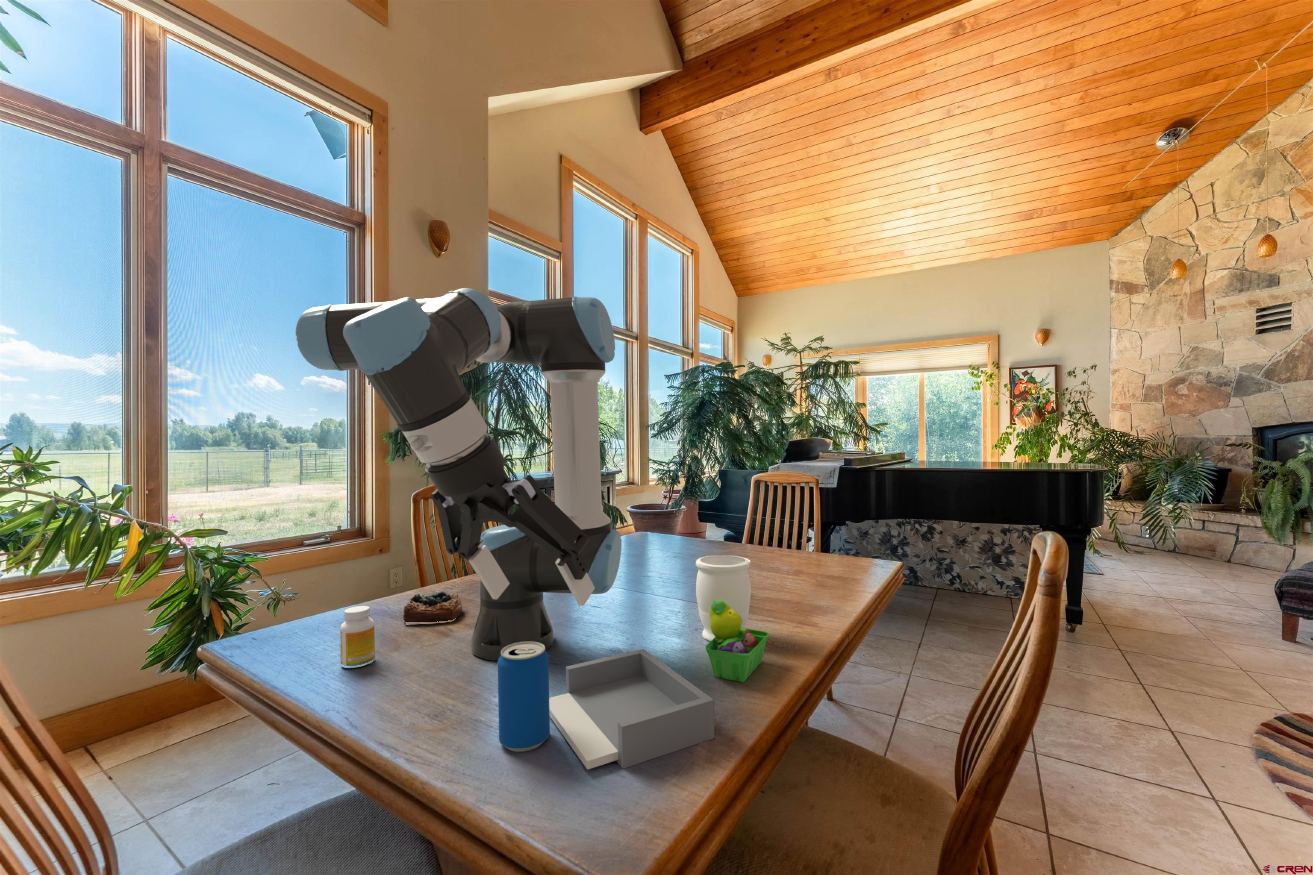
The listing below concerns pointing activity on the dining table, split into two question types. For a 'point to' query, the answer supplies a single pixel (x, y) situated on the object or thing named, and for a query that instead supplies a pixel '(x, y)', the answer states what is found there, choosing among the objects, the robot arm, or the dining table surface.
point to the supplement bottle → (357, 637)
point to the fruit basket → (733, 644)
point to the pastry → (432, 608)
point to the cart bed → (630, 710)
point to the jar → (722, 587)
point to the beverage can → (523, 696)
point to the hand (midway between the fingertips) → (542, 593)
